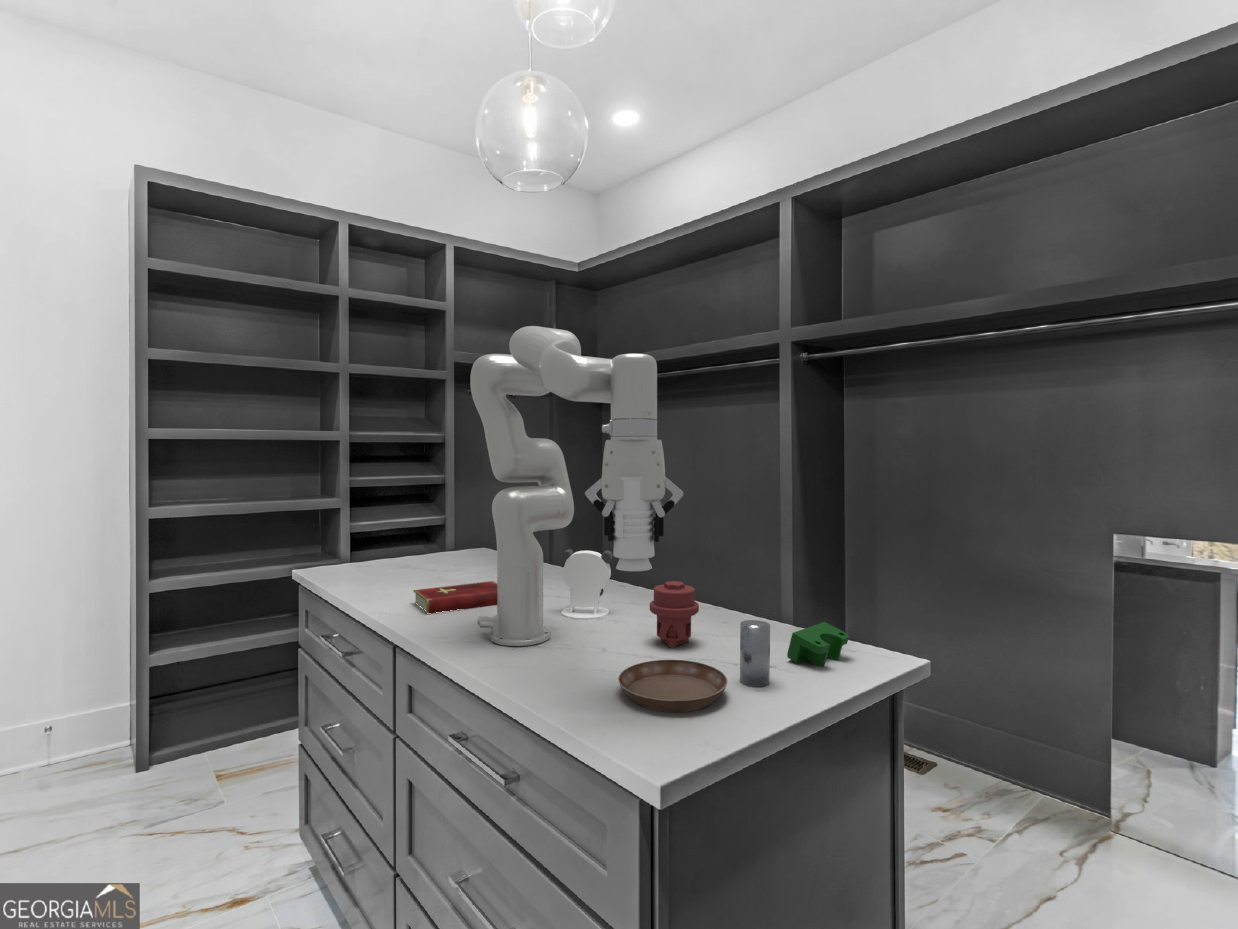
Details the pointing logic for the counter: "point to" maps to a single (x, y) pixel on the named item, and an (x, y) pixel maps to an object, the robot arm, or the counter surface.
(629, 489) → the white ribbed cylinder
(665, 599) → the mechanical component
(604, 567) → the panda figurine
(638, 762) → the counter surface
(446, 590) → the hardcover book
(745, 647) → the metal pillar
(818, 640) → the clamp
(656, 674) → the plant saucer
